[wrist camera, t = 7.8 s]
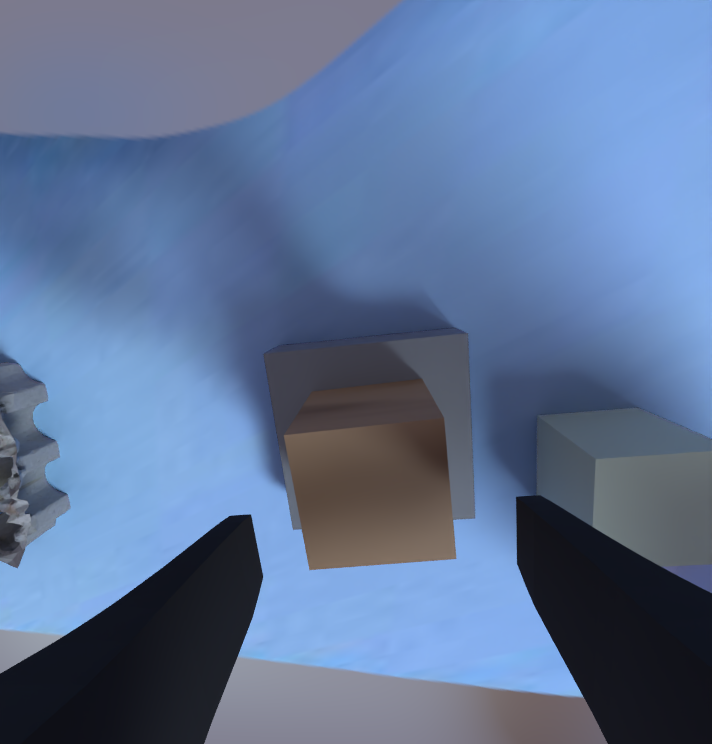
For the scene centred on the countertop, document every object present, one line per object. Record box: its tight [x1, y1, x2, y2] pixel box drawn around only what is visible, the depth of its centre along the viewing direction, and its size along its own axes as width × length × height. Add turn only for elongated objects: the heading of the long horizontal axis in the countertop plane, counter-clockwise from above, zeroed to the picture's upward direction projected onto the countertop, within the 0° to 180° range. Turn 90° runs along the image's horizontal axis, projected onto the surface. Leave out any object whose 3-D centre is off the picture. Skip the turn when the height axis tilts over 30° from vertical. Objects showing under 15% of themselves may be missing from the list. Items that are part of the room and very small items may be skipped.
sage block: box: [536, 407, 712, 567], centre depth 16 cm, size 5×5×5 cm
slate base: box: [263, 328, 475, 530], centre depth 18 cm, size 9×9×3 cm
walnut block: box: [284, 379, 456, 570], centre depth 14 cm, size 5×5×5 cm
